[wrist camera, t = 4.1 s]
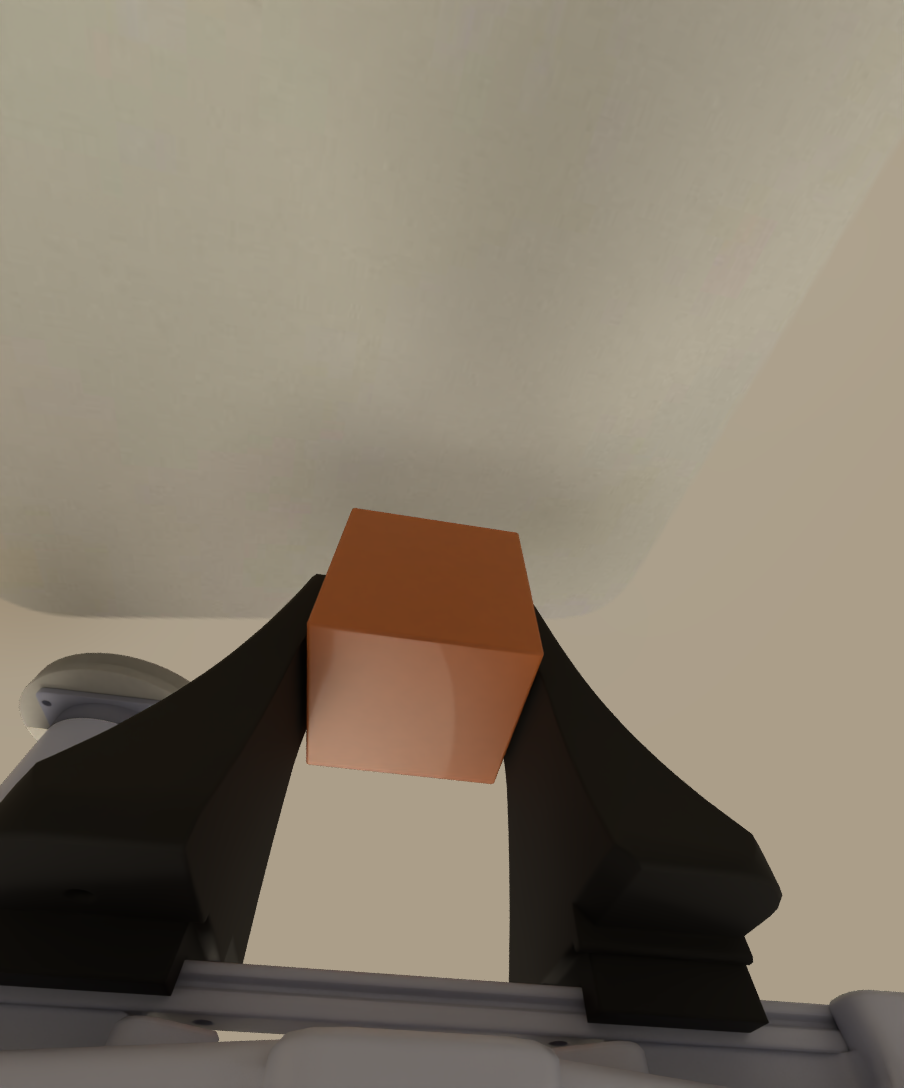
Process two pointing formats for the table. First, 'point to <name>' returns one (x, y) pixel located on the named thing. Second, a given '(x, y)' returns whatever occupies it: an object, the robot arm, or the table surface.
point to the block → (420, 649)
